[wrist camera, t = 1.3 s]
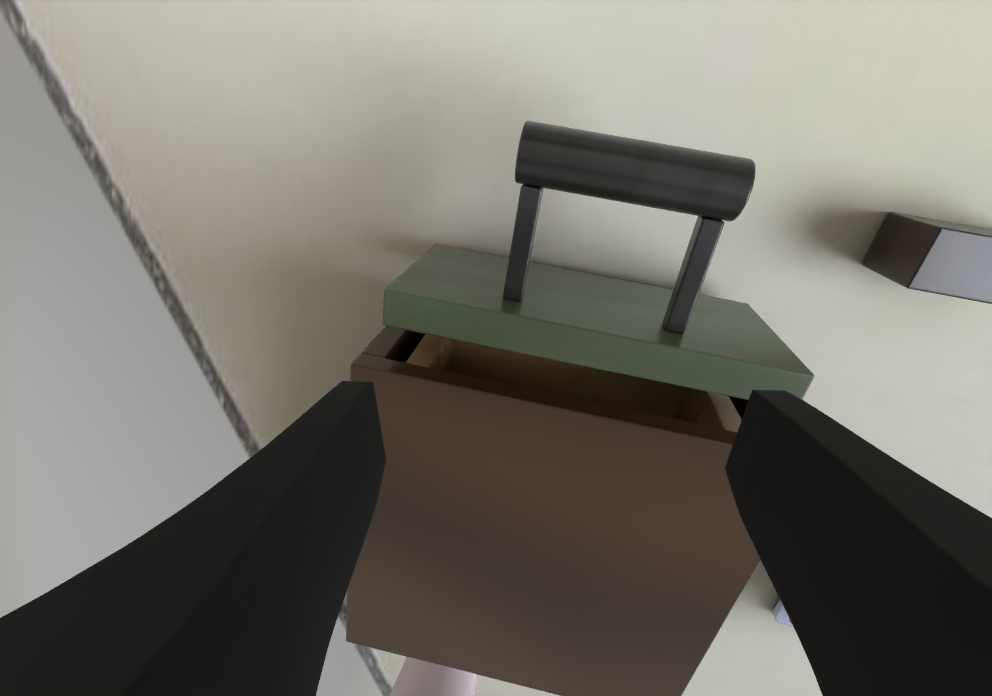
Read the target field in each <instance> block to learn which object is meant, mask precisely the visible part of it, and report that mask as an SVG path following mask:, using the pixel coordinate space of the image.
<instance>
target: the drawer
mask: <svg viewBox="0 0 992 696" xmlns="http://www.w3.org/2000/svg"><path fill="white" fill-rule="evenodd" d="M754 179H755V163H754V161H753V160H751V159H747V158H742V157H736V156H730V155H724V154H718V153H712V152H707V151H701V150H695V149H689V148H683V147H677V146H671V145H666V144H660V143H654V142H648V141H642V140H636V139H631V138H625V137H619V136H613V135H607V134H601V133H596V132H590V131H584V130H578V129H572V128H566V127H561V126H555V125H549V124H543V123H537V122H531V121H526V122H525V124H524V126H523V129H522V133H521V137H520V142H519V147H518V153H517V160H516V168H515V181H516V182H517V183H520V184H523V185H522V186H521V191H520V196H519V202H518V208H517V214H516V220H515V226H514V232H513V238H512V244H511V250H510V256H509V258H506V257H501V256H496V255H491V254H485V253H480V252H475V251H470V250H464V249H459V248H454V247H449V246H444V245H438V244H436V245H434V246H433V247H432V248H431V249H430V250H429V251H428V252H426V253H425V254H424V255H423V256H422V257H421V258H420V259H419V260H417V261H416V262H415V263H414V264H413V265H412V266H411V267H410V268H408V269H407V270H406V271H405V272H404V273H403V274H402V275H401V276H399V277H398V278H397V279H396V280H395V281H394V282H393V283H392V284H390V285H389V286H388V287H387V288H386V289H385V291H384V309H383V325H385V326H390V327H394V328H399V329H404V330H409V331H414V332H419V333H424V334H425V336H424V337H423V339H422V340H421V341H420V343H419V344H418V346H417V347H416V349H415V350H414V351H413V353H412V354H411V356H410V357H409V359H408V360H407V361H406V363H409V364H414V365H419V366H424V367H428V368H433V369H438V370H443V371H447V372H452V373H457V374H462V375H466V376H471V377H476V378H481V379H486V380H490V381H495V382H500V383H505V384H509V385H514V386H519V387H524V388H528V389H533V390H538V391H543V392H548V393H552V394H557V395H562V396H567V397H571V398H576V399H581V400H586V401H590V402H595V403H600V404H605V405H610V406H614V407H619V408H624V409H629V410H633V411H638V412H643V413H648V414H652V415H657V416H662V417H667V418H672V419H676V420H681V421H686V422H691V423H695V424H700V425H705V426H710V427H715V428H719V429H724V430H729V431H734V432H738V429H739V426H740V423H741V420H742V419H741V417H740V416H739V414H738V412H737V410H736V408H735V407H734V405H733V403H732V401H731V399H730V397H729V396H731V397H736V398H741V399H746V400H749V397H750V394H751V391H752V390H785V391H787V392H789V393H791V394H793V395H794V396H796V397H798V398H800V399H801V400H802V399H803V397H804V395H805V393H806V391H807V389H808V387H809V385H810V384H811V382H812V380H813V378H814V374H813V373H812V372H811V371H810V370H809V369H808V368H807V367H806V366H805V365H804V364H803V363H802V361H801V360H800V359H799V358H798V357H797V356H796V355H795V354H794V353H793V352H792V351H791V350H790V349H789V348H788V346H787V345H786V344H785V343H784V342H783V341H782V340H781V339H780V338H779V337H778V336H777V335H776V334H775V333H774V331H773V330H772V329H771V328H770V327H769V326H768V325H767V324H766V323H765V322H764V321H763V320H762V319H761V318H760V316H759V315H758V314H757V313H756V312H755V311H754V310H753V309H752V308H751V307H750V306H749V305H748V304H746V303H741V302H736V301H731V300H726V299H720V298H715V297H710V296H705V295H699V292H700V289H701V286H702V283H703V281H704V278H705V275H706V272H707V270H708V267H709V264H710V261H711V259H712V256H713V253H714V250H715V248H716V245H717V242H718V239H719V237H720V234H721V231H722V228H723V226H724V222H723V221H722V220H725V221H733V220H735V219H736V218H737V217H738V216H739V215H740V213H741V212H742V210H743V209H744V207H745V205H746V203H747V201H748V199H749V196H750V194H751V191H752V187H753V184H754ZM543 188H547V189H553V190H558V191H564V192H569V193H575V194H581V195H586V196H592V197H597V198H603V199H608V200H614V201H619V202H625V203H630V204H636V205H641V206H647V207H653V208H658V209H664V210H669V211H675V212H680V213H686V214H691V215H697V216H698V218H697V221H696V224H695V227H694V230H693V233H692V236H691V239H690V242H689V245H688V248H687V251H686V254H685V257H684V260H683V263H682V266H681V269H680V272H679V274H678V277H677V280H676V283H675V286H674V289H668V288H663V287H658V286H652V285H647V284H642V283H637V282H632V281H626V280H621V279H616V278H611V277H605V276H600V275H595V274H590V273H585V272H579V271H574V270H569V269H564V268H558V267H553V266H548V265H543V264H538V263H532V262H530V257H531V252H532V246H533V241H534V236H535V230H536V225H537V220H538V214H539V209H540V204H541V198H542V193H543Z"/></svg>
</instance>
